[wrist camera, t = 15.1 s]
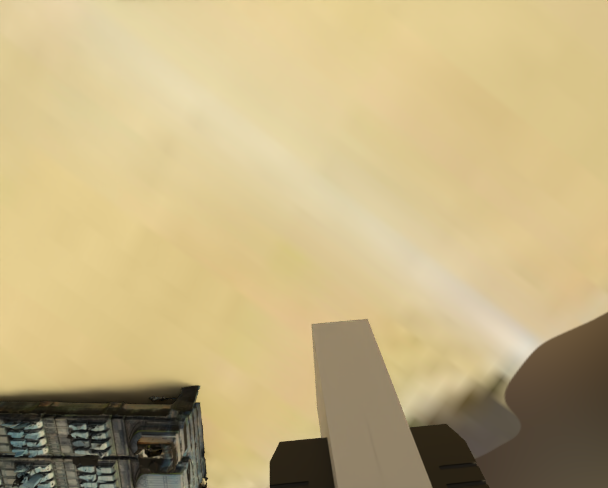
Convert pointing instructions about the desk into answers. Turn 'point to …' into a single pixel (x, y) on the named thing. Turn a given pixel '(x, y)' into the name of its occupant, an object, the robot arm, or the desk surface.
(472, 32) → the desk surface
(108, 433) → the building model
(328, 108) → the desk surface
